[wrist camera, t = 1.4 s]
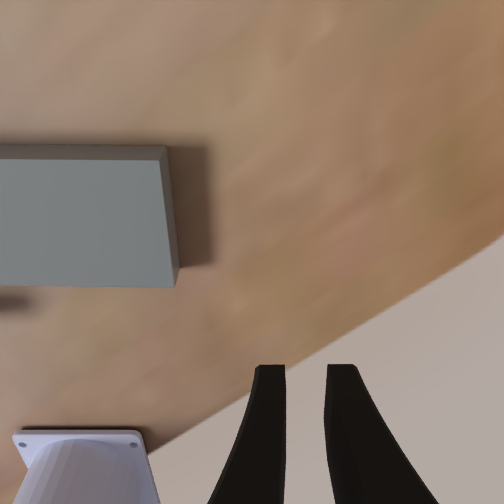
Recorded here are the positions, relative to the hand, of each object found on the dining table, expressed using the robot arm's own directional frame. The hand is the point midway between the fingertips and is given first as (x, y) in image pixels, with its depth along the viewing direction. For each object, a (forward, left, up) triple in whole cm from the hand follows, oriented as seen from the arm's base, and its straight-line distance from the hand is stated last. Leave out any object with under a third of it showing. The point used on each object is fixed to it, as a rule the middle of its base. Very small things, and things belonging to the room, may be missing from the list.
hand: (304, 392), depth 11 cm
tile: (0, +10, -10) cm, 14 cm away
